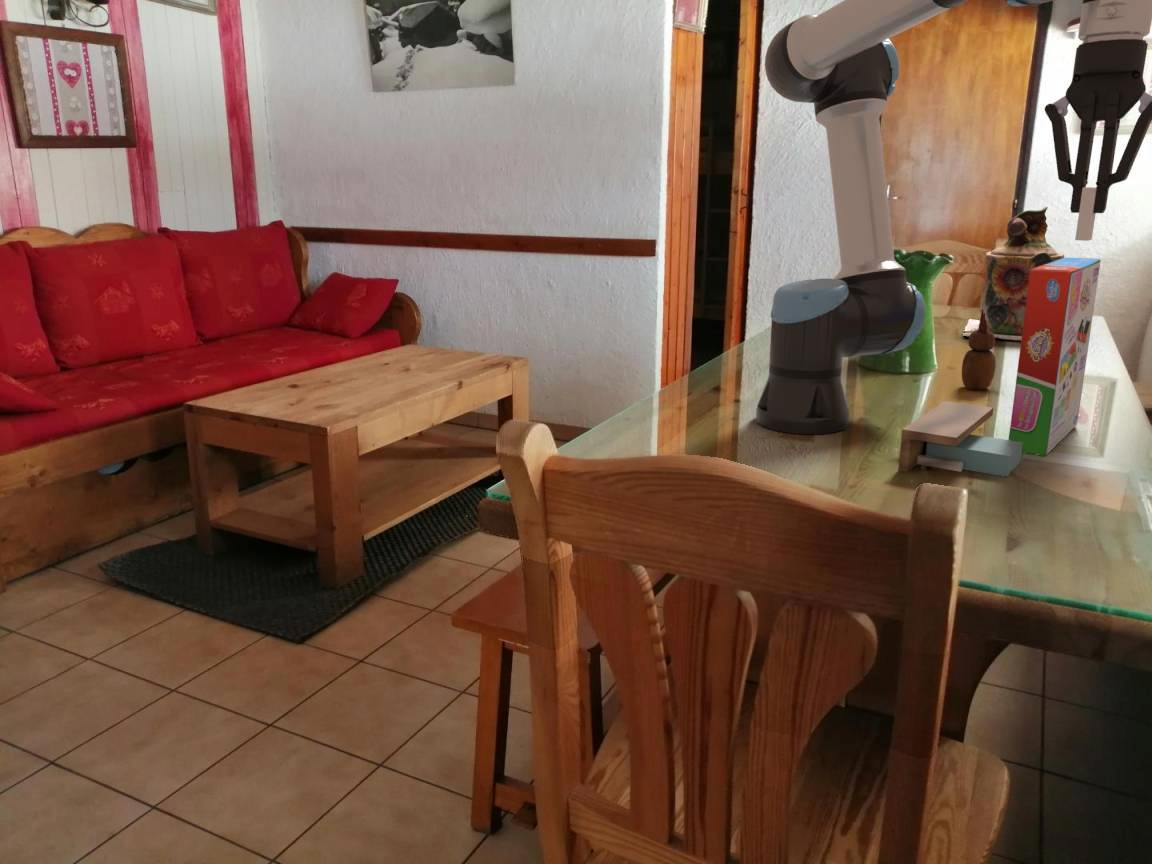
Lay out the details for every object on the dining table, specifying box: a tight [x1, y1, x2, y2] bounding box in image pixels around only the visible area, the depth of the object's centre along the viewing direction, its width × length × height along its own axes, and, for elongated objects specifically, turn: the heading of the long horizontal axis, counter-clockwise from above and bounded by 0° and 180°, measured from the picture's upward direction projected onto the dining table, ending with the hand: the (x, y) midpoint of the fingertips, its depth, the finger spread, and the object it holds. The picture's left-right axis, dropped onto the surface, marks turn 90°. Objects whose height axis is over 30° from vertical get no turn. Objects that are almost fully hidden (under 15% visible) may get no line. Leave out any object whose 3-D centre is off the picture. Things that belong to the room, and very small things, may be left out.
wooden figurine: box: [961, 310, 997, 391], centre depth 173 cm, size 7×6×15 cm
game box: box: [1008, 257, 1102, 457], centre depth 138 cm, size 21×6×27 cm, turn 141°
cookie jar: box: [962, 206, 1065, 341], centre depth 227 cm, size 25×25×32 cm
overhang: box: [898, 400, 994, 473], centre depth 132 cm, size 7×20×6 cm, turn 143°
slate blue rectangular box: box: [926, 433, 1023, 477], centre depth 130 cm, size 11×8×3 cm
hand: (1083, 239), depth 116 cm, fingers closed
